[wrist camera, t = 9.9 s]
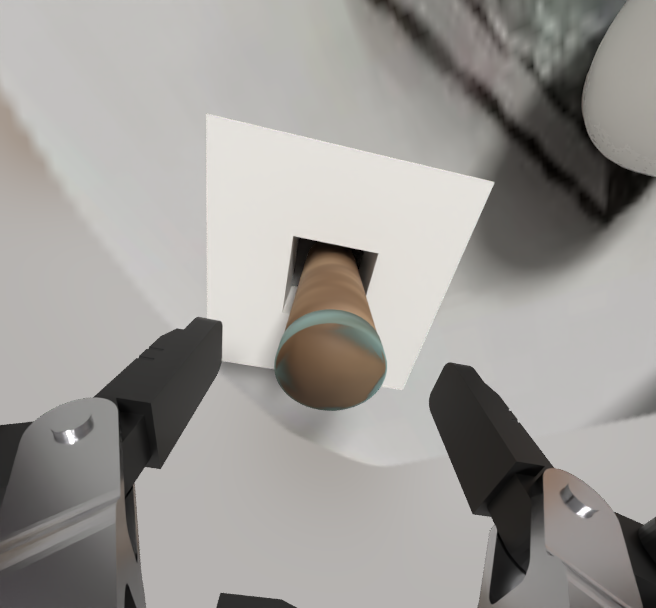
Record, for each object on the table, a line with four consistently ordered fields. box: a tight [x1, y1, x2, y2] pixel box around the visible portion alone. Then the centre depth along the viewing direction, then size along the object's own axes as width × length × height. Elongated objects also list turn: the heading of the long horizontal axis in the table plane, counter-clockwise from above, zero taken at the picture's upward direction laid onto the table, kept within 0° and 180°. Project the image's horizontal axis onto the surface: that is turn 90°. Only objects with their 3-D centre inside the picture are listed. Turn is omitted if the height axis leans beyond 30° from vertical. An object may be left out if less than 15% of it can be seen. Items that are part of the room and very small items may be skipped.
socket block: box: [206, 113, 495, 390], centre depth 17 cm, size 14×14×4 cm
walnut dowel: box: [274, 241, 387, 411], centre depth 14 cm, size 4×4×12 cm
